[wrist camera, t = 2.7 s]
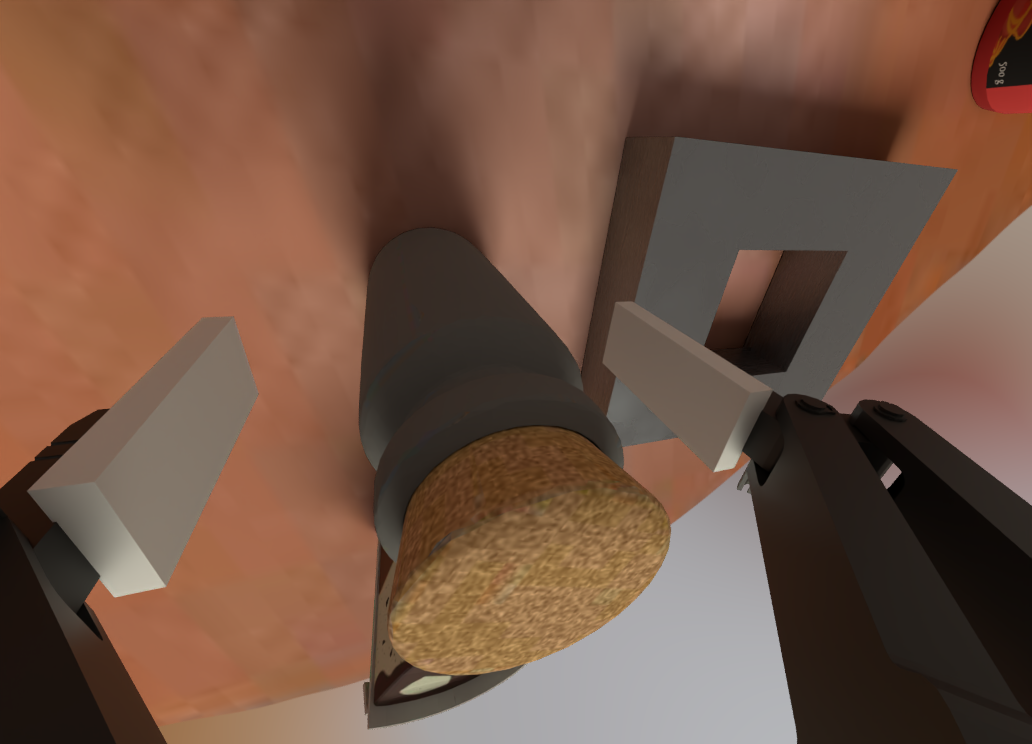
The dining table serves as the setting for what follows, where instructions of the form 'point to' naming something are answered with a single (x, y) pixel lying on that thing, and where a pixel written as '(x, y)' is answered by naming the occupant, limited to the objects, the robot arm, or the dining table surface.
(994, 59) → the canned food
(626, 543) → the bottle
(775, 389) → the plate
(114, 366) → the dining table surface
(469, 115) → the dining table surface
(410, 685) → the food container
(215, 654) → the dining table surface
